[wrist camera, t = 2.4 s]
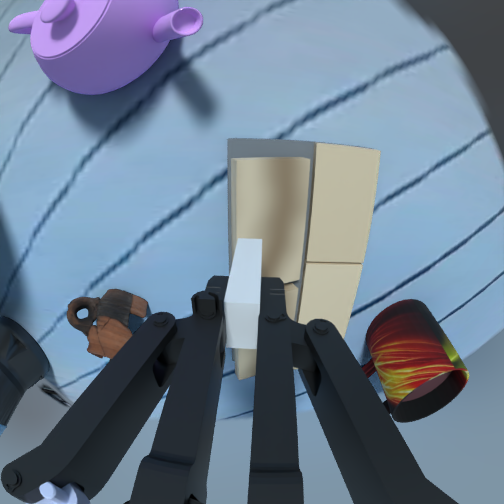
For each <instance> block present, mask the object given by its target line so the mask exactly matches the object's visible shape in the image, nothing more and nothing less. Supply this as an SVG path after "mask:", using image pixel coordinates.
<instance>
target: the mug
mask: <svg viewBox="0 0 504 504" xmlns="http://www.w3.org/2000/svg"><path fill="white" fill-rule="evenodd" d="M366 343H367V346H368V349H369V351H370V354H371V357H372V359H371V360H370V361H369V362H368V363H367V364H366V365H365V366H364V367H362V370H363V371H364V373H365V375H366V376H367V378H369V377H370V376H371V375H372V374H373V373H374V372H375V371H377V373H378V376H379V379H380V382H381V384H382V387H383V390H384V393H385V396H386V399H387V400H386V401H384V402H383V404H384V406H385V408H386V409H387V411H388V413H389V414H390V413H391V415H392V418H393V419H394V420H395V421H397V422H402V423H403V422H412V421H416V420H419V419H422V418H425V417H427V416H429V415H431V414H433V413H435V412H437V411H438V410H440V409H441V408H443V407H444V406H446V405H447V404H448V403H449V402H451V401H452V400H453V399H454V398H455V397H456V396H457V395H458V394H459V393H460V392H461V391H462V389H463V388H464V387H465V385H466V383H467V381H468V378H469V372H468V370H467V368H466V367H465V366H464V363H463V362H462V360H461V358H460V357H459V355H458V353H457V352H456V350H455V348H454V347H453V345H452V344H451V342H450V340H449V339H448V337H447V336H446V334H445V333H444V331H443V330H442V328H441V327H440V325H439V324H438V322H437V321H436V319H435V318H434V316H433V315H432V313H431V312H430V311H429V309H428V308H427V306H426V305H425V304H424V303H423V302H421V301H419V300H414V299H408V300H403V301H399V302H397V303H394V304H392V305H390V306H389V307H387V308H385V309H384V310H383V311H382V312H380V313H379V314H378V315H377V316H376V317H375V318H374V320H373V321H372V322H371V324H370V326H369V328H368V330H367V333H366Z"/></svg>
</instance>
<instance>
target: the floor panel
mask: <svg viewBox="0 0 504 504" xmlns="http://www.w3.org/2000/svg"><path fill="white" fill-rule="evenodd" d="M380 152H381V151H379V150H375V149H372V148H365V147H358V146H350V145H342V144H333V143H323V142H311V141H297V140H279V139H242V138H229V139H228V242H229V276H230V271H231V267H232V231H231V158H255V157H304V158H308V159H310V172H309V186H308V199H307V211H306V222H305V233H304V243H303V253H302V262H301V271H300V279H299V280H296V281H292V282H288V283H284V285H285V284H289V283H293V284H294V285H295V286H296V287H297V288H298V295H297V303H296V311H295V318H294V321H295V322H298V323H301V324H305V325H307V323H308V322H309V321H310V320H313V319H325V320H328V321H330V322H332V323H333V324H334V325H335V327H336V328H337V330H338V331H339V333H340V334H341V336H342V338H343V339H344V336H345V333H346V329H347V326H348V322H349V319H350V315H351V311H352V308H353V304H354V300H355V296H356V292H357V288H358V284H359V280H360V275H361V271H362V267H363V265H362V263H363V262H364V257H365V253H366V248H367V242H368V237H369V232H370V226H371V220H372V214H373V208H374V202H375V195H376V187H377V180H378V171H379V162H380ZM232 360H233V361H235V352H234V348H232ZM293 369H298V368H295V367H293Z"/></svg>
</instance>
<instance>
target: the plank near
mask: <svg viewBox="0 0 504 504" xmlns="http://www.w3.org/2000/svg"><path fill="white" fill-rule="evenodd" d="M309 172H310V159H308V158H304V157H255V158H231V231H232V262H233V258H234V253H235V249H236V245H237V240H238V238H246V239H262V261H261V277H280V279H281V280H282V281H283V282H284V283H288V282H292V281H296V280H299V279H300V271H301V262H302V253H303V243H304V233H305V222H306V211H307V199H308V186H309Z"/></svg>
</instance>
